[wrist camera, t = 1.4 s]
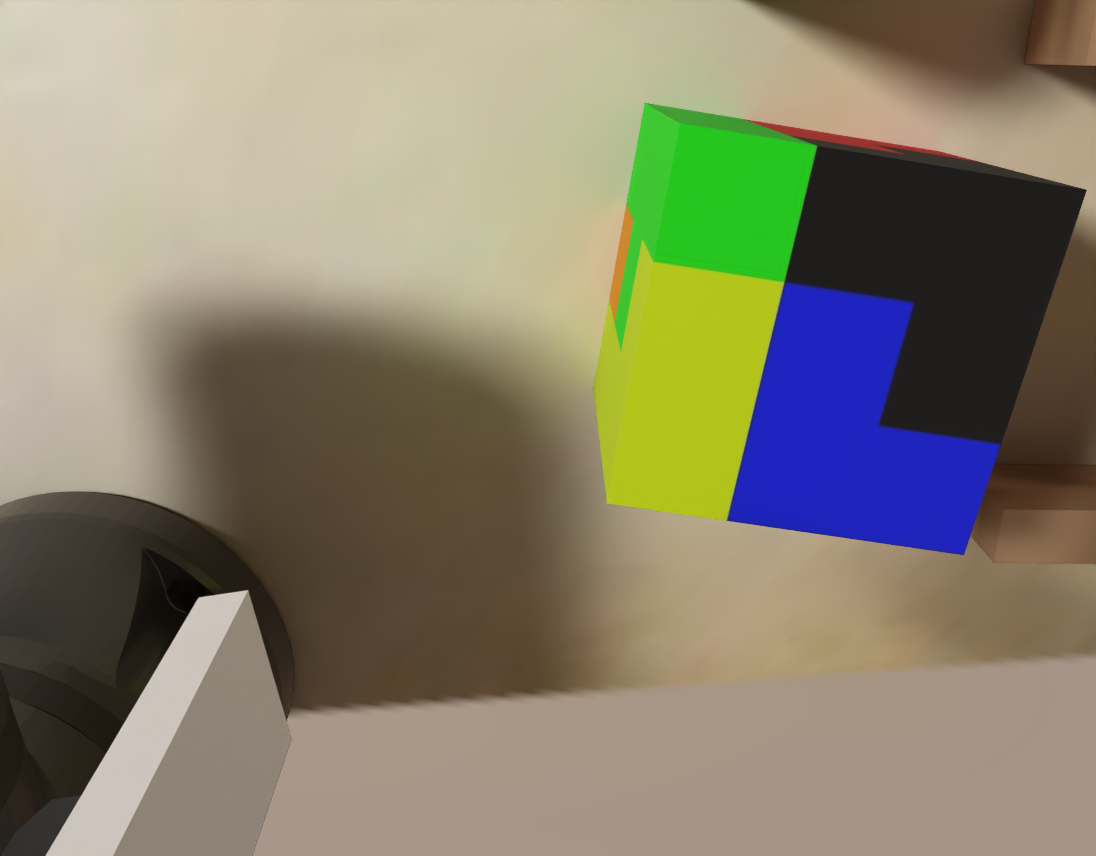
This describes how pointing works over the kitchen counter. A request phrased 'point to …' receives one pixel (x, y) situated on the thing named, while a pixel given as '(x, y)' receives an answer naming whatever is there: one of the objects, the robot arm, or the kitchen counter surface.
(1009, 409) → the puzzle toy
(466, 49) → the kitchen counter surface
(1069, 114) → the kitchen counter surface
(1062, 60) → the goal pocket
